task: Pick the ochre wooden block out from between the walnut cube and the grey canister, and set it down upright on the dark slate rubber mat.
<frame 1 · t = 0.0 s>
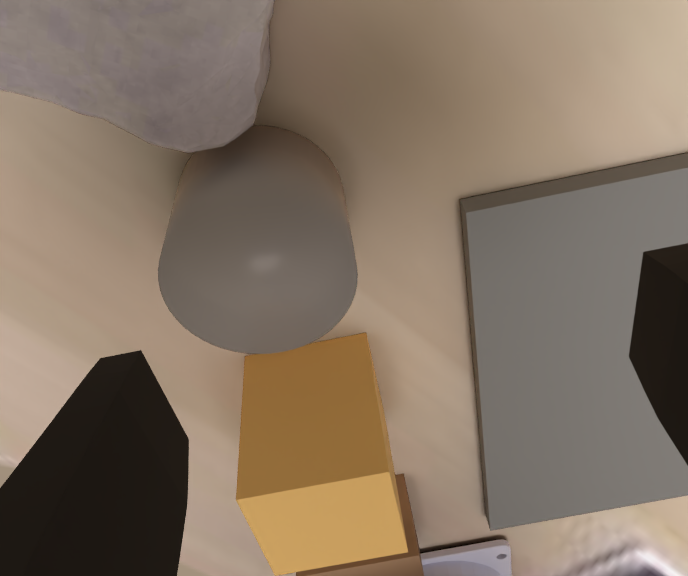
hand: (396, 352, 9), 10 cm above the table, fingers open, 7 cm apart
slate mat: (652, 359, 25), on the table
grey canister: (262, 203, 19), on the table
ochre block: (318, 385, 24), on the table
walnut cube: (357, 511, 30), on the table
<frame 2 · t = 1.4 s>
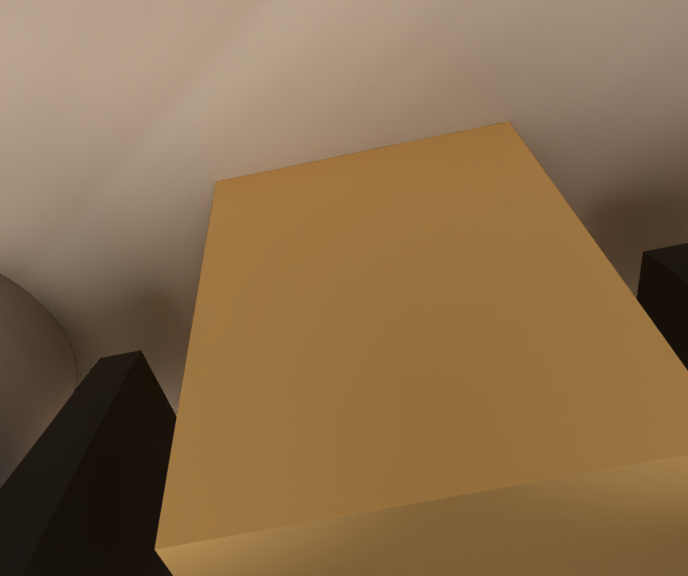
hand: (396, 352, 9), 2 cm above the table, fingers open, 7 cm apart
ochre block: (381, 268, 11), on the table
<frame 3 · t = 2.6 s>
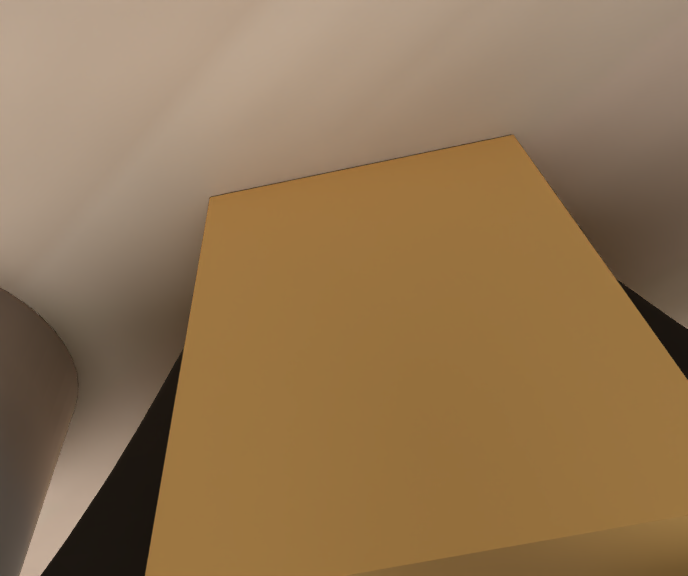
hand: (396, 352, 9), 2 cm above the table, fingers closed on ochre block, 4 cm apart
ochre block: (382, 285, 11), on the table, touching gripper
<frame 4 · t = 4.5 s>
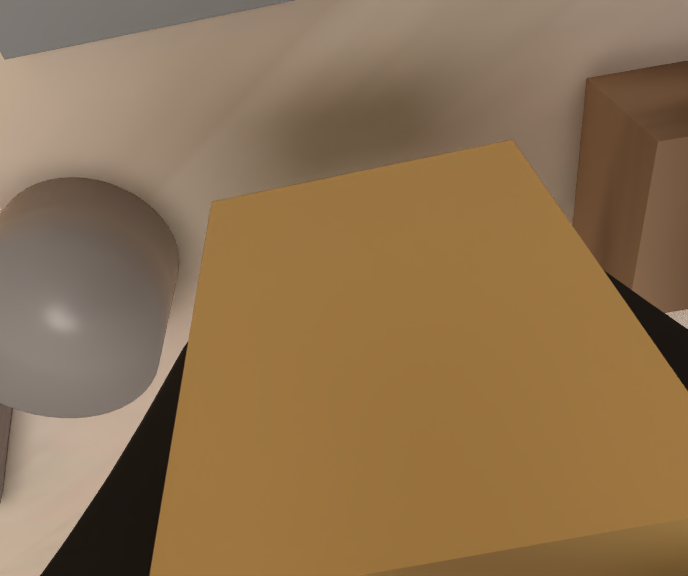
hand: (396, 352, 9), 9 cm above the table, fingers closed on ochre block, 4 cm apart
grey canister: (91, 254, 18), on the table
ochre block: (382, 288, 11), point 7 cm above the table, touching gripper
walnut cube: (664, 147, 18), on the table
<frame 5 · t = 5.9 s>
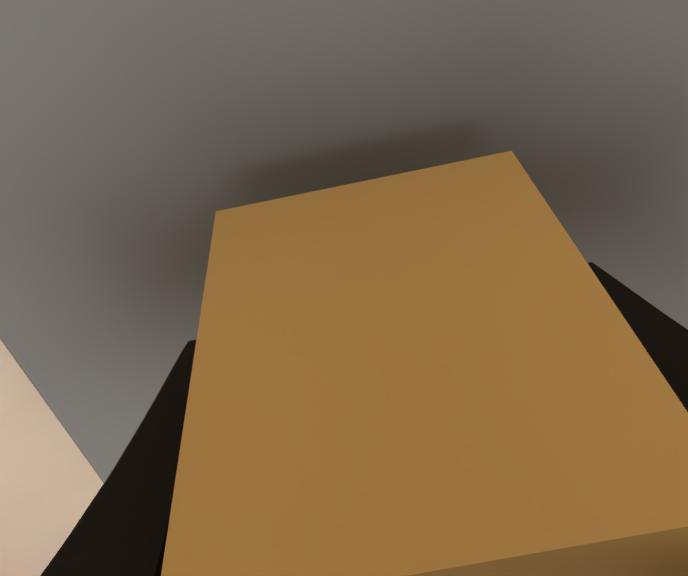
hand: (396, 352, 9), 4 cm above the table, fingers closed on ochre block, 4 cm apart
slate mat: (414, 192, 13), on the table
ochre block: (383, 296, 11), point 3 cm above the table, touching gripper
when the fingers open (4 cm above the table, at t = 6.9 s): ochre block drops 1 cm, resting on slate mat.
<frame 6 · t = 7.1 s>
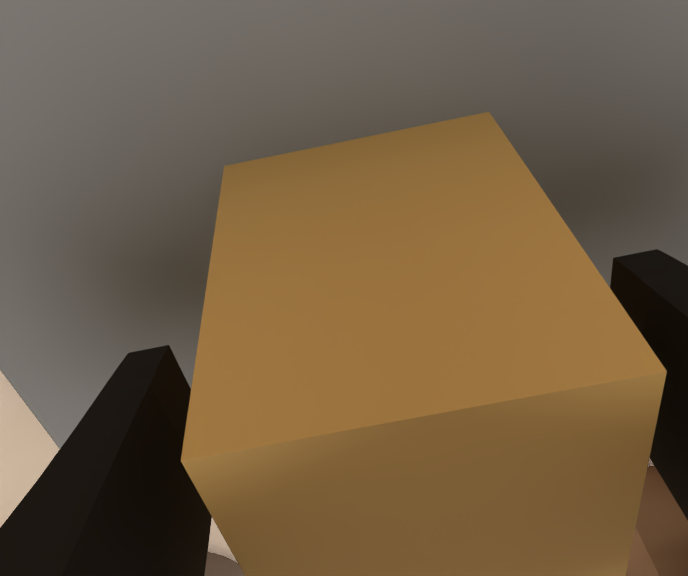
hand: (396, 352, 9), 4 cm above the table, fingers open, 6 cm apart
slate mat: (417, 204, 12), on the table
ochre block: (375, 248, 12), point 1 cm above the table, touching slate mat
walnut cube: (676, 503, 20), on the table
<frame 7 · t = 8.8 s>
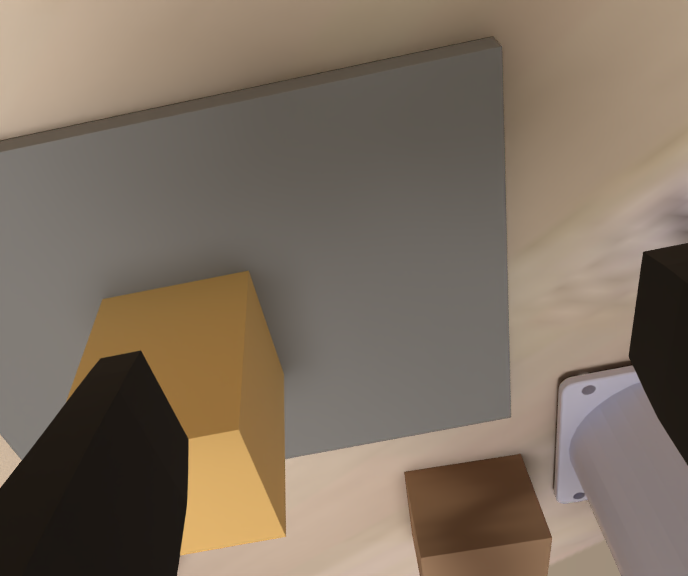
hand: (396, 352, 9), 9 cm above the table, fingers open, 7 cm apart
slate mat: (227, 311, 21), on the table
ochre block: (199, 339, 20), point 1 cm above the table, touching slate mat
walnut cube: (462, 494, 28), on the table
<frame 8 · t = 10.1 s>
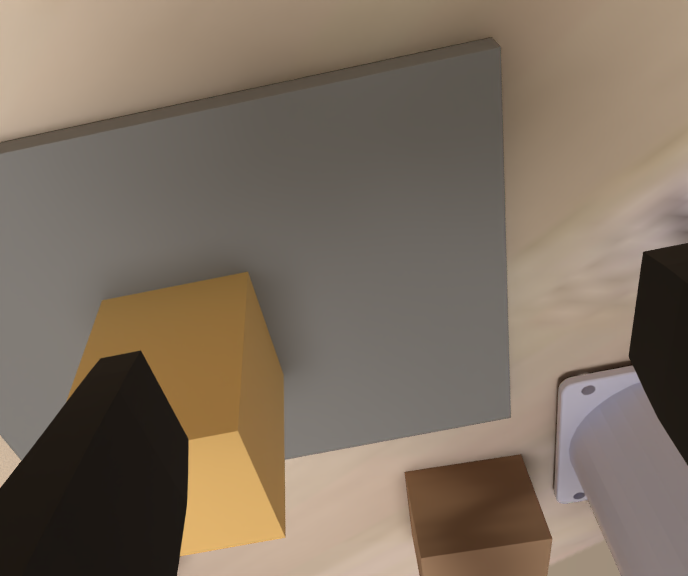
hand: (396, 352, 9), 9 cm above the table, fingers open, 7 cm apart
slate mat: (227, 312, 21), on the table
ochre block: (198, 340, 20), point 1 cm above the table, touching slate mat
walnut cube: (462, 494, 28), on the table
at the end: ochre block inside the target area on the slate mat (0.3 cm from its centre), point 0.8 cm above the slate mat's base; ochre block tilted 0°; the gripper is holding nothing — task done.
